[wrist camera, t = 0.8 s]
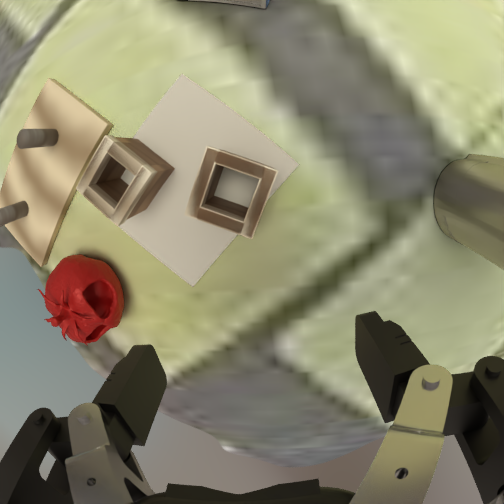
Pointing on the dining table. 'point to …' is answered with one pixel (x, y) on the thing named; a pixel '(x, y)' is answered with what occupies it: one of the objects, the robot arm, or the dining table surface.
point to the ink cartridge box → (243, 2)
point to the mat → (186, 168)
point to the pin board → (48, 167)
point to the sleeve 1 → (113, 187)
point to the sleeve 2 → (221, 209)
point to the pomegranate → (83, 298)
